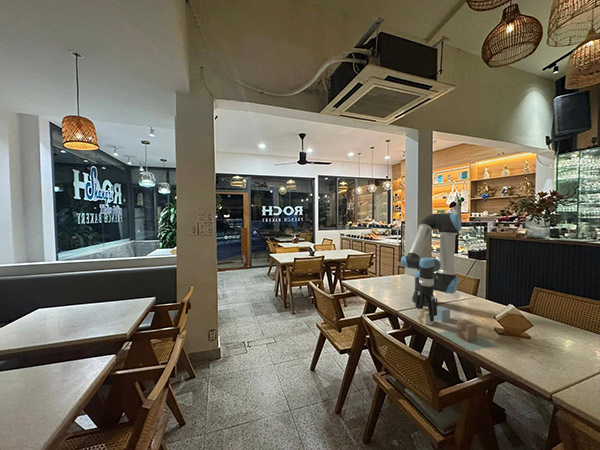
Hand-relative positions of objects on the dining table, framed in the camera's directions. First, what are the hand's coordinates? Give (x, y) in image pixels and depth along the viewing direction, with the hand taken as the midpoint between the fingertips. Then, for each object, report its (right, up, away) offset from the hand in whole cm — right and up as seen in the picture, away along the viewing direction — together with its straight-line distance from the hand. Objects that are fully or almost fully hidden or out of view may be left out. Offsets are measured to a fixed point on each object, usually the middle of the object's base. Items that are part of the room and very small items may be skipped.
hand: (425, 323), depth 139 cm
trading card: (+29, -1, +2) cm, 29 cm away
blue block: (+11, 0, +4) cm, 12 cm away
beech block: (0, 0, 0) cm, 0 cm away
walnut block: (+11, 0, -19) cm, 22 cm away
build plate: (+11, -1, -19) cm, 22 cm away
